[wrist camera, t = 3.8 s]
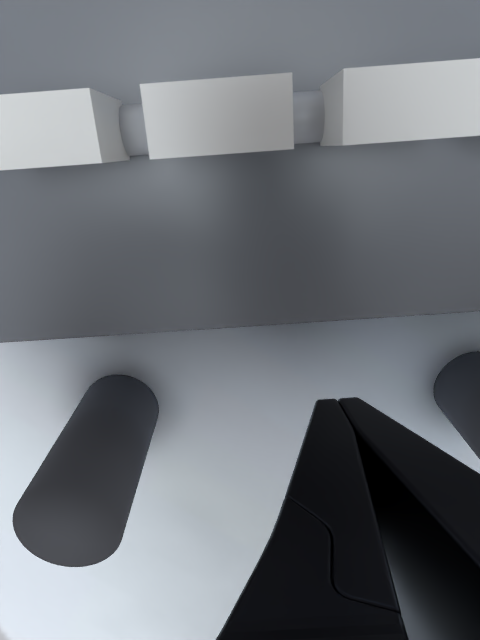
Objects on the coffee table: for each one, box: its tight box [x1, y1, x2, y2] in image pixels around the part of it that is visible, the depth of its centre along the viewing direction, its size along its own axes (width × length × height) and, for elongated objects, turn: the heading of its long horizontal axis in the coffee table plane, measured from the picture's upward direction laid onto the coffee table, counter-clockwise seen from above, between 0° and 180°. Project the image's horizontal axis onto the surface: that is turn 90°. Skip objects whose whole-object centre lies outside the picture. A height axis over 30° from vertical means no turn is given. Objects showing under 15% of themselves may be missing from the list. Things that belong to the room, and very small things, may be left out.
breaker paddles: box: [0, 58, 480, 170], centre depth 10 cm, size 1×18×3 cm, turn 95°
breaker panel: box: [0, 0, 480, 343], centre depth 12 cm, size 12×22×4 cm, turn 94°
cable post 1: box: [13, 375, 159, 567], centre depth 15 cm, size 3×3×6 cm
